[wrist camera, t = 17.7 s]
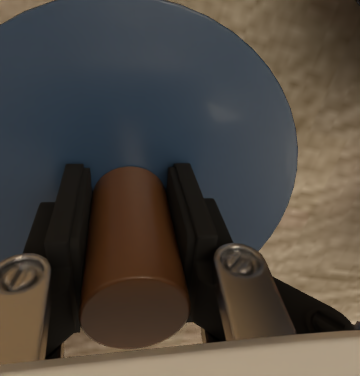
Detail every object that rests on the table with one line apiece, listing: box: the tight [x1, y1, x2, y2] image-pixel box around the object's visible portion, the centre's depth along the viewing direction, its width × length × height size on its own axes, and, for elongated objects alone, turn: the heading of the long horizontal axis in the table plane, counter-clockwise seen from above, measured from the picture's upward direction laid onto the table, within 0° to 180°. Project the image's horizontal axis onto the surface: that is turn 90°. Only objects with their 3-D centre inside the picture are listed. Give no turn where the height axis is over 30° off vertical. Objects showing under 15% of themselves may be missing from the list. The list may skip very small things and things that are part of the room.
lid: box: [0, 0, 298, 349], centre depth 10 cm, size 13×13×6 cm
